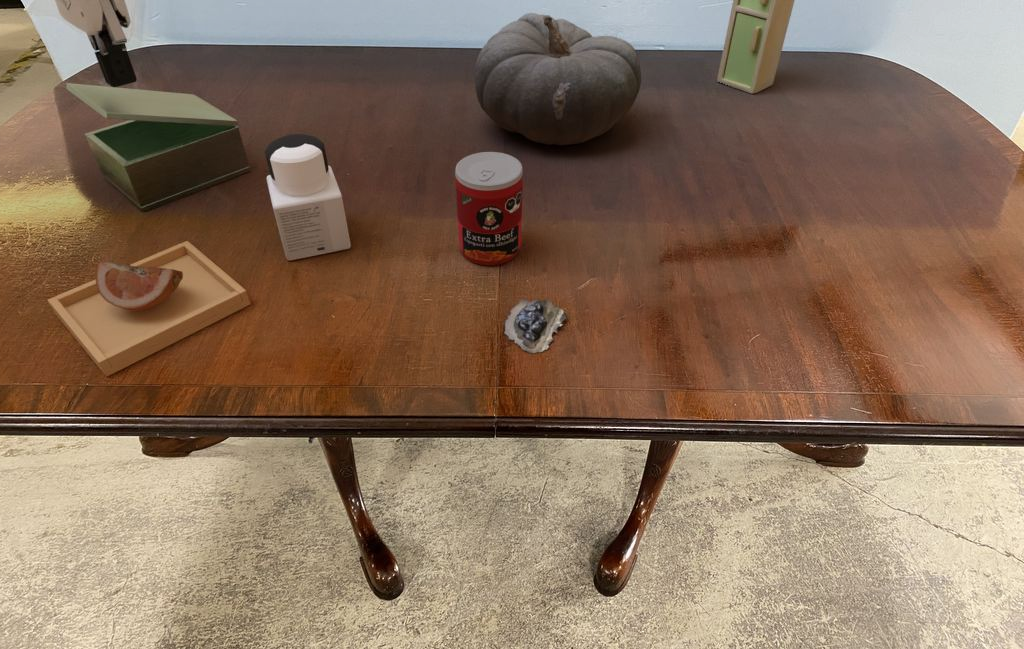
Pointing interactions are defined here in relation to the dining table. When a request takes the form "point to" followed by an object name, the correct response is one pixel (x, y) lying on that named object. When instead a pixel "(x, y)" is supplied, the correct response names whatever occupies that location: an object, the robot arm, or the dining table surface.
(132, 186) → the bin
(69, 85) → the bin lid
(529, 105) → the gourd
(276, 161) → the container
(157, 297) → the fruit slice
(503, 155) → the canned food
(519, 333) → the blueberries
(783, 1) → the toy refrigerator
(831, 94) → the dining table surface
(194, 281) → the tray
